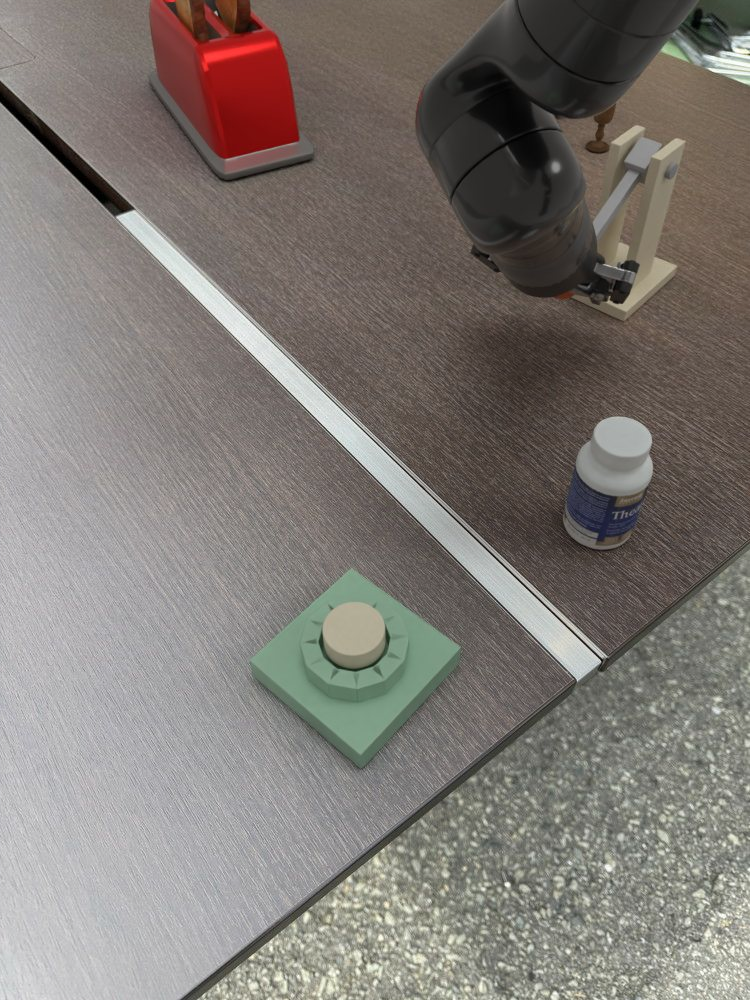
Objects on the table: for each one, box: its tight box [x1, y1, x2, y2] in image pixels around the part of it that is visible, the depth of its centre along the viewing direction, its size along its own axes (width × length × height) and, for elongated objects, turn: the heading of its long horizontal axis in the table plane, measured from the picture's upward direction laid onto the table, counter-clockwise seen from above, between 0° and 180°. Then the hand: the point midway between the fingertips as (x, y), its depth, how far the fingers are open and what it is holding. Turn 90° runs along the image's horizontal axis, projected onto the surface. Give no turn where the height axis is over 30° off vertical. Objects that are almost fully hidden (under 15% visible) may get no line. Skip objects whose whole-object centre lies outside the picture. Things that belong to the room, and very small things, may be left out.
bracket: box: [570, 124, 687, 323], centre depth 80 cm, size 10×8×15 cm
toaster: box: [147, 0, 315, 181], centre depth 104 cm, size 32×13×19 cm, turn 26°
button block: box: [248, 567, 462, 770], centre depth 56 cm, size 10×10×4 cm
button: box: [322, 602, 385, 669], centre depth 54 cm, size 4×4×2 cm
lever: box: [553, 136, 664, 300], centre depth 76 cm, size 16×4×4 cm
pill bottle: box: [562, 415, 654, 550], centre depth 62 cm, size 5×5×10 cm
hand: (566, 284), depth 78 cm, fingers open, 5 cm apart
